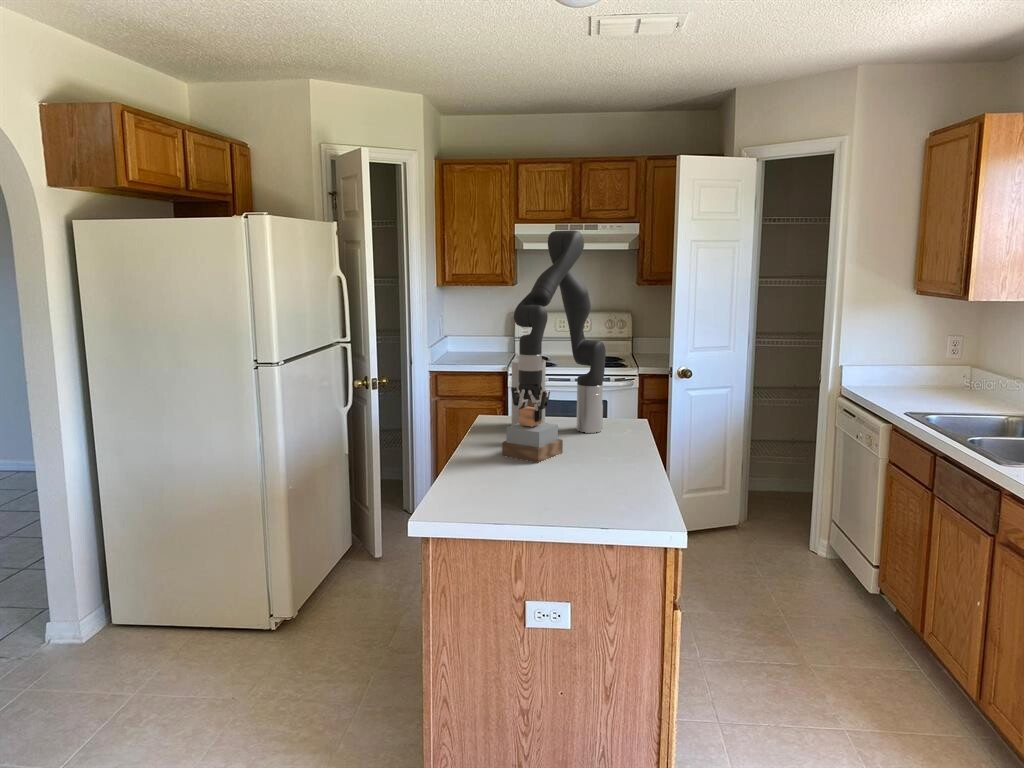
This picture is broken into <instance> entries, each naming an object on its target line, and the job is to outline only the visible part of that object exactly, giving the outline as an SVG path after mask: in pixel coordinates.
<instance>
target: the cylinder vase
mask: <svg viewBox="0 0 1024 768" xmlns="http://www.w3.org/2000/svg"><path fill="white" fill-rule="evenodd" d="M546 363H547V360H546V359H542V383H541V387H542V389H543V390H545V391H546V371H547V370H546ZM518 376H519V358H516V359H512V360H511V388H512V387H515V386H519V384H520V383H519V381H518ZM519 395H520V396H521V393H520V391H519ZM525 407H528V401H527V402H526V405H525ZM542 420H543V423H546V408H545V409H542ZM517 423H519V408H518V406H516V405H514V404H513V398H512V397H511V426H512V425H515V424H517Z"/></svg>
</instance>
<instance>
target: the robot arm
mask: <svg viewBox="0 0 1024 768" xmlns="http://www.w3.org/2000/svg"><path fill="white" fill-rule="evenodd" d="M584 246H585V240H584V236H583V233H581V231H578V230H573V229H572V230H554V231H552V232H550V233H549V235H548V238H547V249H548V253H549V257H550V260H551V263H552V265H550V266H549V267H548V268H546V269H545V270H544V271H543V272H542V273H541V274H540V275H539V277H538V278H537V279H536V281H535V283H534V285H533V286H532V288H531V291H529V293H528V294H526V296H525V297H524V298H523V299H522V300H521V301H519V303H518V304H517V306H516V308H515V310H514V314H513V320H514V321H513V322H514V323H515V324H516V325H517V326H519V327H522V328H531V330H530V333H527V334H524V335H521V336H520V337H519V343H518V344H519V356H518V359H519V376H518V381H519V383H520V384H519V386H515V387H512V386H511V388H510V391H511V399H512V398H513V404H514V405H516V406H518V408H519V409H522V408H525V405H526V402H527V401H528V399H529V400H531V401H532V403H533V404H534V407H535V410H536V411H535V422H540V420H541V419H542V409H545V410H546V409H547V408H548V404H549V400H550V394H551V392H550V390H546V389H545V390H543V389H542V387H541V383H542V360H543V355H542V353H543V352H542V348H543V347H542V345H543V343H542V342H543V338H544V334H545V329H546V327H547V323H548V317H549V316H548V312H547V309H546V308H545V307H546V306H549V305H550V303H551V302H552V299H553V298H554V295H555V293H556V291H557V289H558V287H559V289H560V295H561V301H562V304H563V308H564V312H565V315H566V320H567V324H568V330H569V337H570V343H571V344H570V345H571V351H572V356H573V359H574V361H575V363H576V364H577V365H581V366H588V367H590V368H589V372H586V373H584V374H583V373H582V374H581V375H578V376H577V379H576V380H577V385H576V389H577V390H576V429H577V430H576V431H577V432H579V431H580V432H579V433H583V432H585V433H586V434H595V433H596V432H597V433H600V431H601V430H603V420H604V419H603V418H604V417H603V416H604V415H603V414H604V404H603V386H604V385H603V384H604V382H603V381H604V377H605V368H606V367H605V365H606V353H607V352H606V345H605V344H604V342H602V341H601V340H595V339H594V340H593V339H591V340H590V339H586V337H585V334H584V331H585V330H584V326H585V323H586V321H587V319H588V317H589V315H590V313H591V307H592V306H591V305H592V304H591V299H590V296H589V290H588V288H587V286H586V285H585V284H584V282H583V281H582V280H581V278H579V277H578V275H577V274H576V273H575V271H573V269H572V268H573V266H574V265H575V264H576V262H577V261H578V259H579V258H581V255H582V254H583V251H584V248H585V247H584ZM519 391H520V393H521V396H520V395H519ZM540 394H541V396H542V398H540ZM536 399H537V401H536ZM601 432H602V431H601ZM597 433H596V434H597Z"/></svg>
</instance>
